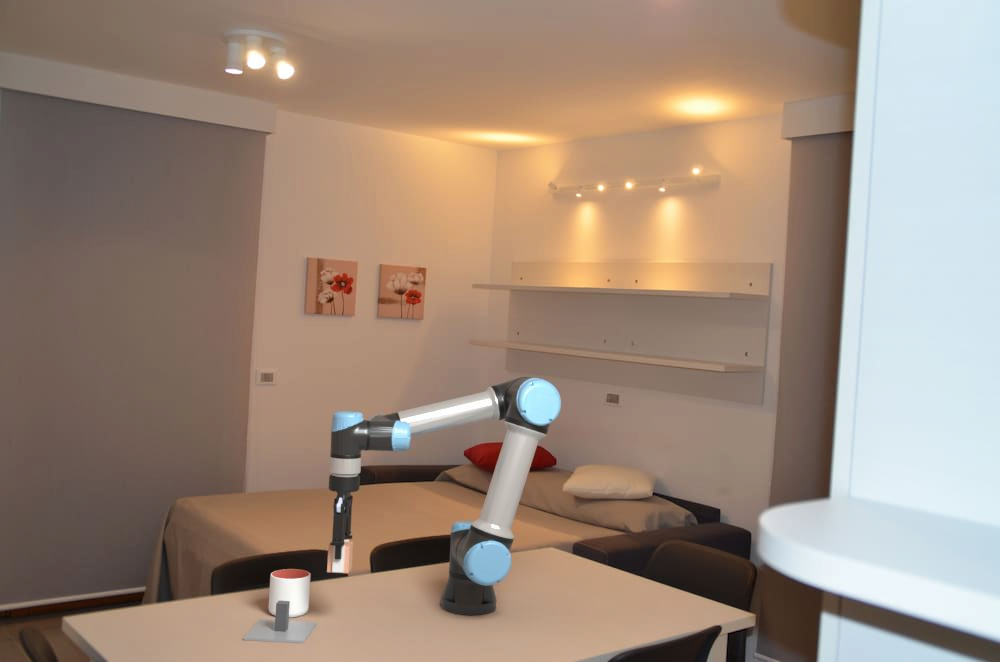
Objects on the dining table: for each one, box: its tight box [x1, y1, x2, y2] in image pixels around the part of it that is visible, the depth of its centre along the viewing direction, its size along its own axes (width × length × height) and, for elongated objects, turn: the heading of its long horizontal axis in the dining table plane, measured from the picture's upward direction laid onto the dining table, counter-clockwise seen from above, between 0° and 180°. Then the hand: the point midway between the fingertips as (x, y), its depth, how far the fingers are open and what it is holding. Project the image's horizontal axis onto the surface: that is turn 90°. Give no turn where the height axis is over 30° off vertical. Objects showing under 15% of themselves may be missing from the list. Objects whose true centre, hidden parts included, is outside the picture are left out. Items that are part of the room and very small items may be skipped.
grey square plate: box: [243, 601, 318, 644], centre depth 207 cm, size 14×14×7 cm
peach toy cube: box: [326, 540, 354, 574], centre depth 214 cm, size 5×5×7 cm
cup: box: [268, 568, 312, 619], centre depth 222 cm, size 10×10×10 cm
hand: (340, 568), depth 214 cm, fingers closed on peach toy cube, 5 cm apart
